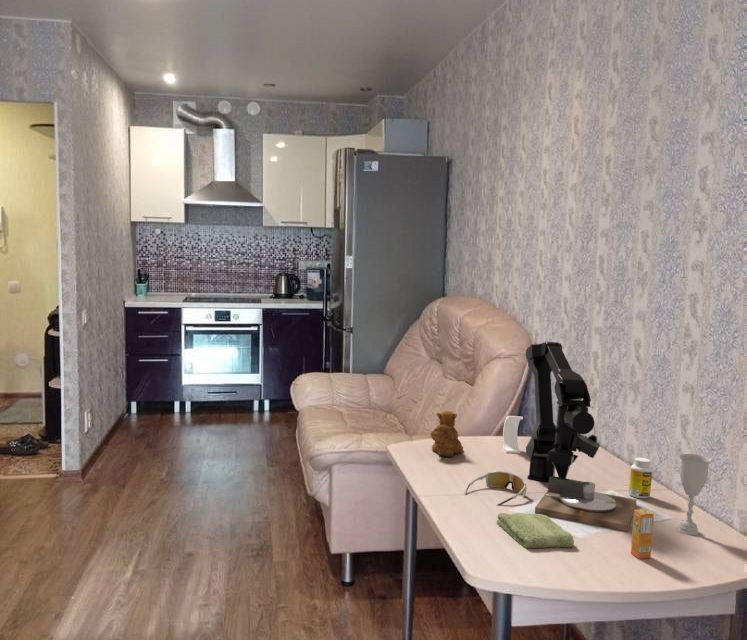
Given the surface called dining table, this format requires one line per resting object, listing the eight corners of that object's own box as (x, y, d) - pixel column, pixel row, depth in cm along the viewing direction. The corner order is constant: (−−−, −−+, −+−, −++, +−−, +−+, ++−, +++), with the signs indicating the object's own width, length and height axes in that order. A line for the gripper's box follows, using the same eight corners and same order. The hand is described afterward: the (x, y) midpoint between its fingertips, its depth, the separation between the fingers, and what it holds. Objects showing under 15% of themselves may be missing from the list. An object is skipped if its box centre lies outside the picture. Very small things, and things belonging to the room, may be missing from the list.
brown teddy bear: (463, 449, 243) (466, 410, 241) (458, 461, 229) (461, 418, 228) (433, 446, 245) (436, 406, 244) (426, 457, 231) (429, 415, 230)
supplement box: (628, 552, 164) (633, 508, 163) (643, 552, 165) (647, 508, 164) (636, 559, 161) (641, 514, 160) (651, 558, 162) (655, 513, 161)
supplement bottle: (641, 500, 202) (644, 463, 201) (624, 494, 206) (627, 457, 205) (654, 497, 205) (657, 461, 204) (637, 491, 209) (640, 455, 208)
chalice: (689, 538, 175) (696, 463, 174) (665, 527, 181) (673, 455, 180) (710, 534, 179) (718, 460, 177) (686, 524, 185) (694, 453, 183)
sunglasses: (534, 496, 200) (534, 478, 199) (503, 516, 189) (503, 498, 188) (490, 482, 209) (490, 466, 208) (458, 501, 199) (457, 483, 198)
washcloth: (543, 521, 182) (544, 508, 182) (577, 550, 165) (578, 536, 165) (492, 522, 179) (493, 509, 179) (522, 552, 162) (523, 537, 162)
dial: (619, 500, 195) (620, 481, 195) (612, 516, 182) (614, 496, 182) (553, 488, 202) (554, 469, 202) (542, 502, 189) (544, 483, 189)
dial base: (534, 513, 186) (535, 506, 186) (552, 489, 206) (552, 483, 206) (627, 531, 177) (628, 524, 177) (636, 505, 197) (636, 498, 197)
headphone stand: (506, 452, 242) (508, 416, 241) (501, 447, 248) (504, 412, 247) (520, 453, 242) (523, 417, 241) (515, 448, 248) (518, 412, 247)
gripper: (593, 436, 187) (588, 497, 188) (603, 422, 203) (598, 478, 205) (548, 429, 191) (543, 489, 193) (562, 416, 208) (557, 471, 209)
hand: (562, 482), depth 200 cm, fingers closed
